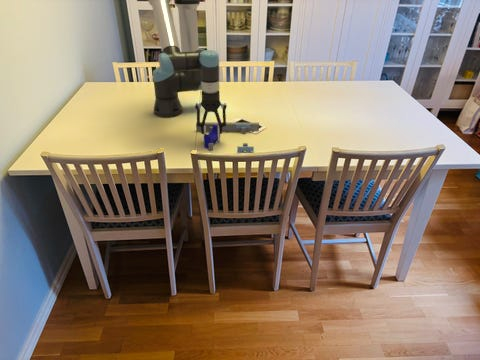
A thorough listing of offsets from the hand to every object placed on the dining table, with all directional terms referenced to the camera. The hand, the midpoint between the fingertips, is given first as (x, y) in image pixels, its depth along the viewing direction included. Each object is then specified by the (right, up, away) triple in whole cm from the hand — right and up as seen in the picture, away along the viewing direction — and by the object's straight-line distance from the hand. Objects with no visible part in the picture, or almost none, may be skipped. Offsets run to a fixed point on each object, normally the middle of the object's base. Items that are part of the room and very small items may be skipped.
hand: (212, 139), depth 153 cm
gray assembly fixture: (+7, -1, +1) cm, 7 cm away
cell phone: (+16, +8, +15) cm, 23 cm away
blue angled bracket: (-1, -1, 0) cm, 1 cm away
